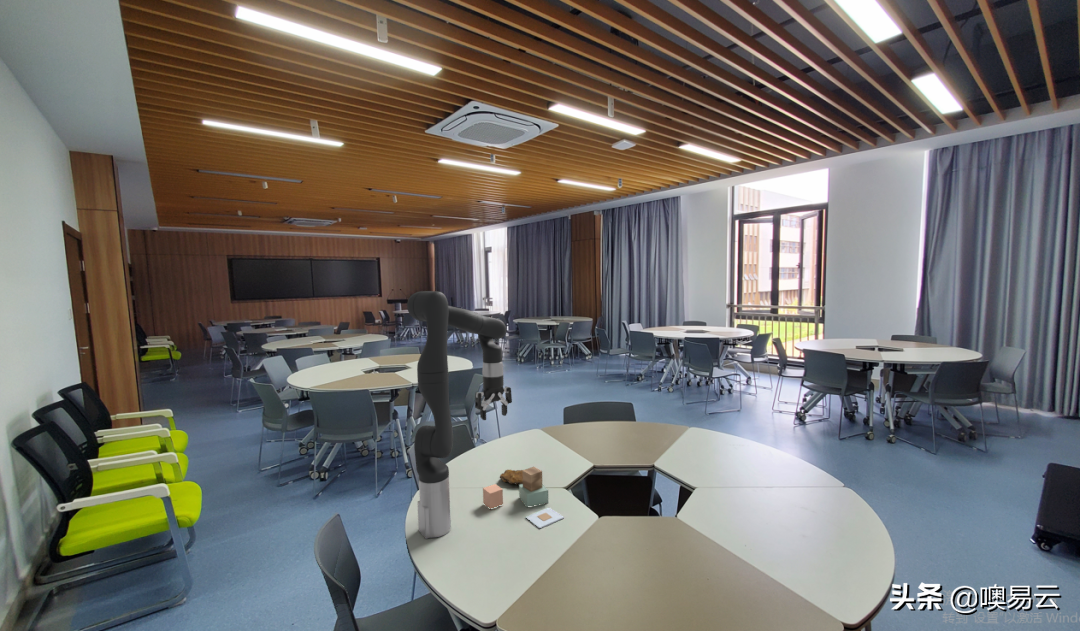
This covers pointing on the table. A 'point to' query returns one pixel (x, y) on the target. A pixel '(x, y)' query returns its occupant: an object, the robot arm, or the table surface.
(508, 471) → the decorative rock
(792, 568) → the table surface
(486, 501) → the terracotta block
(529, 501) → the base block
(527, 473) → the walnut block
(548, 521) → the card
